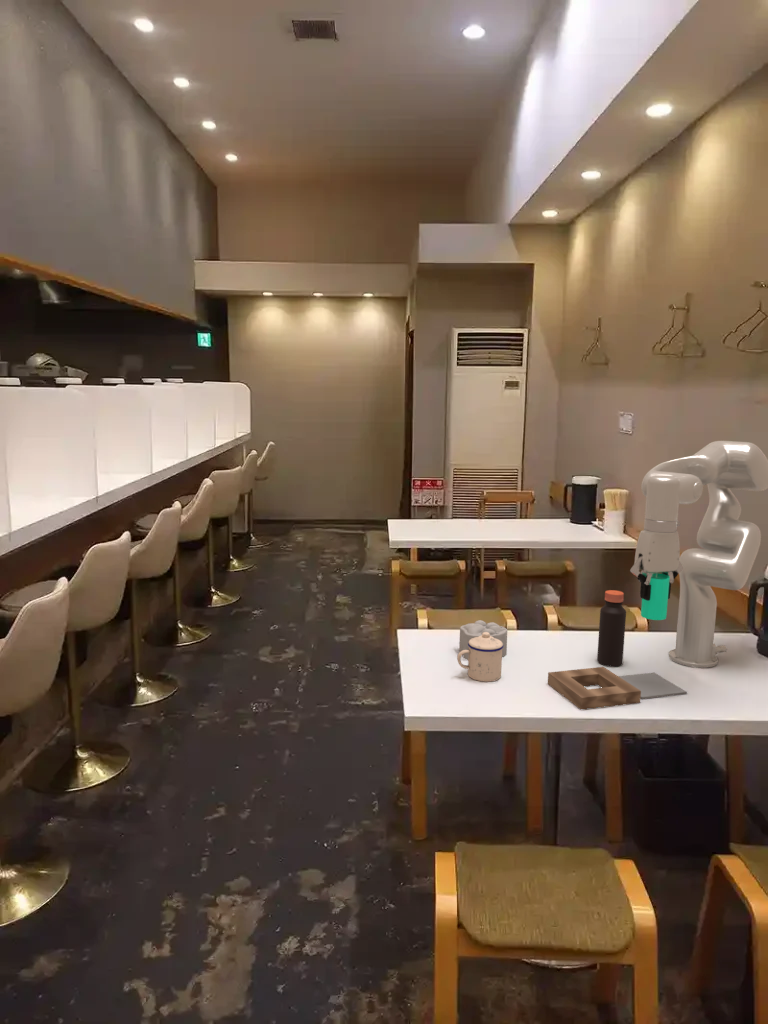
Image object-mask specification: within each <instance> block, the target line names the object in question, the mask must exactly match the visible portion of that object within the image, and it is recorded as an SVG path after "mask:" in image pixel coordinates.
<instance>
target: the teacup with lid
mask: <svg viewBox="0 0 768 1024" xmlns="http://www.w3.org/2000/svg"><path fill="white" fill-rule="evenodd" d="M468 646H469V650H462V651H461V652H459V653H458V654H457V660H456V661H457V663H458V665H459V666H460V667H461V668H463V669H465V670H467V675H468V677H470V679H472V680H475V681H479V682H486V683H487V682H495V681H499V679H501V677H502V665H503V664H502V663H503V658H502V648H503V643H502V642H501V641H500V640H498V639H496V638H493V637H492V636H490V633H488V632H483V633H482V635H481V636H479V637H475V638H472V639H470V640H469V642H468ZM465 653H469V657H468V661H467V665H466V664H463V662H462V660H461V658H462V656H463V654H465Z"/></svg>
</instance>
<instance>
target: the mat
mask: <svg viewBox="0 0 768 1024" xmlns="http://www.w3.org/2000/svg"><path fill="white" fill-rule="evenodd" d="M618 676H619V677H620V678H622V679H623V680H625V681H626V682H628V683H629V684H631V685H633V686H634V687H636V688H637V689H639V690H640V691H641V698H640V700H650V699H656V698H666V697H675V696H682V695H687V694H688V691H686V690H684V689H683V688H681V687H680V686H678V685H676V684H674V683H673V682H671V681H669V680H667V679H666V678H665V677H662V676H661V675H659V674H657V672H647V673H646V672H645V673H637V674H628V675H627V674H626V675H618Z"/></svg>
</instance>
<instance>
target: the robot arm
mask: <svg viewBox="0 0 768 1024" xmlns="http://www.w3.org/2000/svg"><path fill="white" fill-rule="evenodd" d="M705 485H707V491H708V498H709V499H708V500H709V503H708V506H707V509H706V512H705V513H704V515H703V518H702V521H701V523H700V526H699V529H698V530H697V534H696V543H697V545H698V546H699V547H700V548H696V547H695V548H694V547H692V548H688V549H686V550H684V551H682V553H681V545H680V536H679V531H677V530H678V527H680V526H681V521H680V520H678V518H679V507H680V506H679V505H691V504H694V503H696V502H697V501H698V500H699V499H700V498H701V497H702V495H703V491H704V486H705ZM640 487H641V493H642V495H643V496H644V497H645V510H644V523H643V530H640V532H639V536H638V539H637V543H636V547H635V555H634V563H633V565H632V567H631V568H630V570H629V572H630V573H631V574H633V576H635V578H636V579H637V580H638V582H639V583H640V591H639V592H640V593H639V595H640V599H642V598H643V599H645V600H647V601H648V600H650V594H651V585H649V583H650V580H651V577H652V574H654V573H661V574H665V575H667V576H670V580H669V592H668V600H670V599H671V590H672V588H671V587H672V584H673V583H674V582H675V579H676V578H677V577H678V575H679V601H678V602H679V603H678V613H677V626H676V635H675V636H676V638H675V646H674V647H675V648H673V649H671V650H670V651H669V652H668V657H669V659H670V660H671V661H673V662H675V663H677V664H680V665H683V666H685V667H686V666H687V667H691V668H700V669H701V668H702V669H704V668H712V667H715V666H717V665H718V663H719V659H718V657H717V656H716V655H718V653H719V654H721V653H727V651H728V650H727V649H728V647H727V645H717V644H715V643H714V637H715V629H716V628H715V627H716V616H717V607H718V603H717V602H718V601H717V596H716V594H715V592H714V590H713V589H712V587H713V588H720V589H724V590H731V591H738V590H740V589H743V587H744V586H745V585H746V583H747V581H748V579H749V576H750V573H751V571H752V569H753V566H754V564H755V561H756V558H757V555H758V553H759V549H760V547H761V543H762V541H761V540H762V532H761V530H760V527H759V526H758V525H757V524H755V523H753V522H751V521H747V520H746V521H745V520H740V519H739V518H740V516H741V513H742V506H741V503H740V501H739V500H738V498H737V497H736V495H735V494H734V493H733V492H732V490H731V489H733V490H740V491H741V490H743V491H752V492H761V491H762V492H763V491H765V490H767V489H768V457H767V456H766V455H765V454H764V451H762V450H761V448H760V447H759V446H758V445H756V444H755V443H753V442H748V441H734V440H733V441H731V440H715V441H712V442H710V443H708V444H707V445H705V446H704V447H702V448H701V449H700V450H698V451H697V452H696V453H694V454H693V455H689V456H683V457H680V458H676V459H671V460H666V461H664V462H660V463H659V464H657V465H655V466H654V467H652V468H651V469H649V470H648V471H647V473H646V474H644V477H643V478H642V481H641V486H640ZM680 553H681V554H680ZM640 570H641V571H640ZM646 574H647V575H646ZM645 576H646V578H645Z"/></svg>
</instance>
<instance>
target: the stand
mask: <svg viewBox="0 0 768 1024" xmlns="http://www.w3.org/2000/svg"><path fill="white" fill-rule="evenodd" d="M619 676H620V675H617V674H616V673H614V672H612V671H611V670H609V669H608V668H606V667H604V666H598V667H589V668H580V669H570V670H559V671H548V673H547V685H548V686H550V687H551V688H552V689H554V690H555V691H556V692H557V693H559V694H560V695H562V697H564V698H565V699H567V701H569V702H571V704H573V705H574V706H575V707H577V708H578V709H579V708H580V709H579V710H581V709H585V710H588V709H587V708H593V709H597V708H596V707H601V708H605V707H604V706H609V707H614V706H615V705H618V706H623V704H626V705H631V704H632V705H634V704H640V703H641V699H640V698H641V691H640V690H639V689H637V688H636V687H634V686H633V685H631V684H629V683H628V682H626V681H625V680H623V679H622V678H620V677H619ZM590 685H594V686H598V685H599V686H598V688H597V687H596V688H590V689H589V688H586V687H591V686H590ZM584 686H585V687H584ZM601 687H602V688H601Z"/></svg>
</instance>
